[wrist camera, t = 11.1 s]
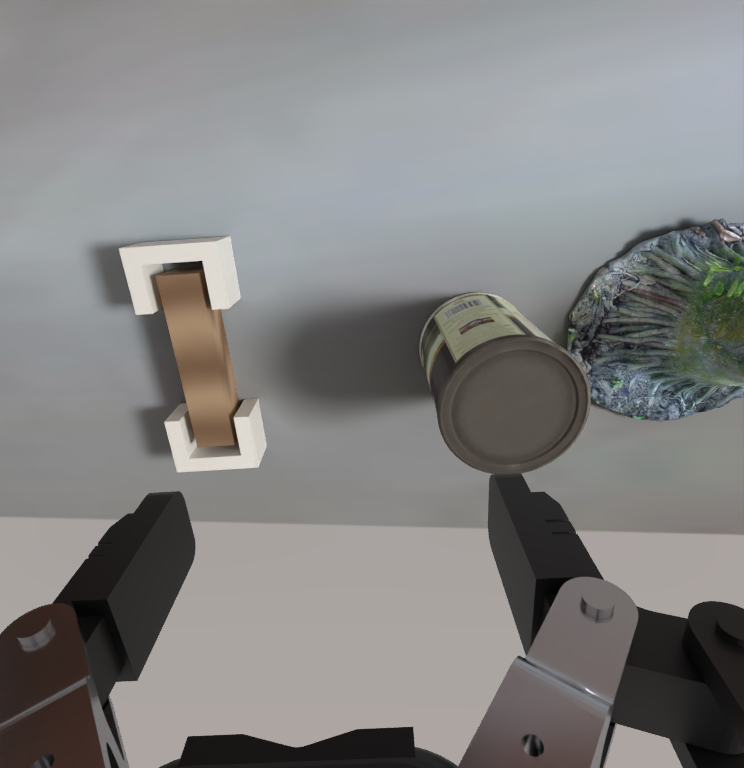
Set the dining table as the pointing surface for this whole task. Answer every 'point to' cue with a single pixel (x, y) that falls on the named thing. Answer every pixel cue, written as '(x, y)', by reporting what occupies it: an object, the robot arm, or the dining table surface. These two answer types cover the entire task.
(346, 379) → the dining table surface
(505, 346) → the coffee can
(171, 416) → the end caps
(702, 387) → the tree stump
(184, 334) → the slat
